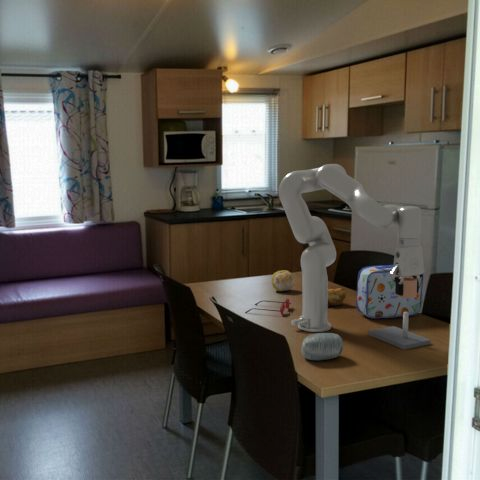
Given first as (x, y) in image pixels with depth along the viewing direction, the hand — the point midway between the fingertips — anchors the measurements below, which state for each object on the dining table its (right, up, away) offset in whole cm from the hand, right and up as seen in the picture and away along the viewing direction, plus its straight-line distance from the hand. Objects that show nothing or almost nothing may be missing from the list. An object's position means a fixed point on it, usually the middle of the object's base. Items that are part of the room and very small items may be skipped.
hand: (406, 293), depth 199 cm
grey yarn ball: (-31, -20, -13) cm, 39 cm away
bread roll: (-19, -10, +52) cm, 56 cm away
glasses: (-46, -12, +43) cm, 64 cm away
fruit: (-37, -6, +76) cm, 85 cm away
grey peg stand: (-1, -17, +5) cm, 18 cm away
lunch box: (+3, -13, +35) cm, 37 cm away
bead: (0, -1, 0) cm, 1 cm away
